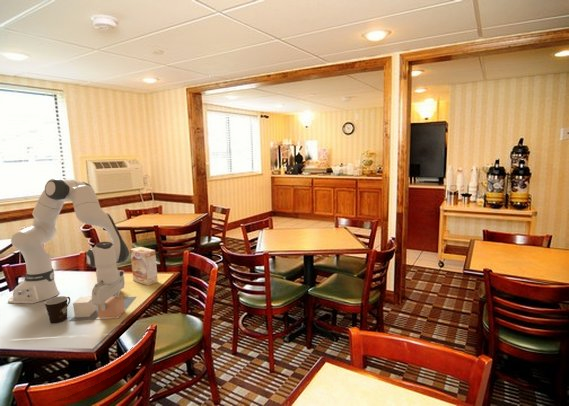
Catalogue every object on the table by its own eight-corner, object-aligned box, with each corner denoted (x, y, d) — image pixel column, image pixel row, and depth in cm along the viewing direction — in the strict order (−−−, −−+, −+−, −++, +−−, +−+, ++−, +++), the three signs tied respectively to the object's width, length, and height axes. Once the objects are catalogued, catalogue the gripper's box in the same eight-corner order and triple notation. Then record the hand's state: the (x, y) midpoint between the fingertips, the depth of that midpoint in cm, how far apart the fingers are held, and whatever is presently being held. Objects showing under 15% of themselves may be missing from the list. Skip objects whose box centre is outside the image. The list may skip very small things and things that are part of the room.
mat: (68, 322, 156) (68, 321, 156) (93, 299, 179) (93, 298, 179) (118, 319, 157) (118, 318, 157) (137, 297, 181) (137, 296, 181)
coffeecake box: (132, 280, 205) (129, 249, 202) (143, 276, 211) (140, 246, 208) (147, 285, 196) (144, 253, 193) (158, 281, 202) (155, 249, 199)
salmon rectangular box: (116, 317, 158) (115, 303, 157) (98, 317, 159) (97, 302, 158) (125, 310, 165) (123, 297, 164) (107, 310, 166) (105, 296, 164)
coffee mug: (53, 327, 151) (50, 306, 150) (44, 322, 156) (41, 301, 154) (80, 316, 161) (77, 296, 160) (70, 312, 166) (68, 292, 164)
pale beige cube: (74, 317, 159) (72, 303, 158) (81, 310, 166) (80, 297, 165) (89, 316, 160) (87, 302, 159) (96, 310, 166) (94, 296, 165)
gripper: (99, 286, 148) (103, 316, 150) (125, 269, 168) (128, 296, 171) (86, 285, 149) (89, 315, 151) (113, 269, 169) (116, 295, 171)
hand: (110, 305), depth 161 cm, fingers open, 8 cm apart
